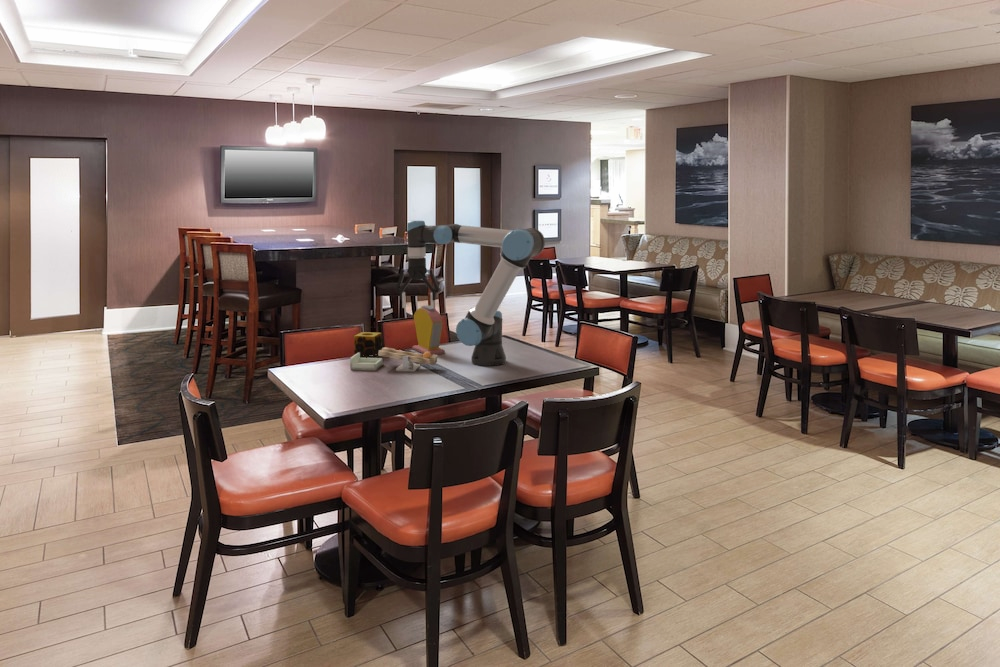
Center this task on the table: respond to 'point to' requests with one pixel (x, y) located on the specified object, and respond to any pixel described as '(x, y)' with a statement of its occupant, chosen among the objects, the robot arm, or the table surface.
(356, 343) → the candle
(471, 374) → the table surface
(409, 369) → the fulcrum
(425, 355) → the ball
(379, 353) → the beige piece
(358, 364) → the tray
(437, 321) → the pink yellow-faced device
